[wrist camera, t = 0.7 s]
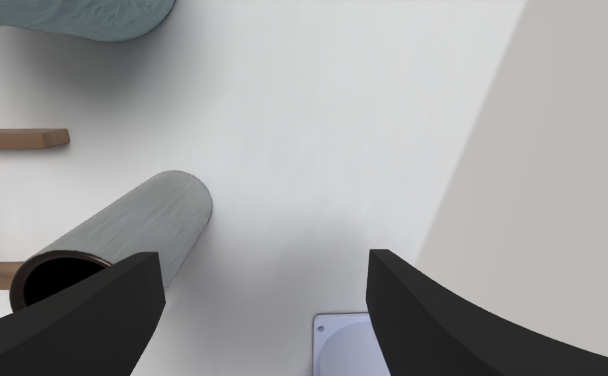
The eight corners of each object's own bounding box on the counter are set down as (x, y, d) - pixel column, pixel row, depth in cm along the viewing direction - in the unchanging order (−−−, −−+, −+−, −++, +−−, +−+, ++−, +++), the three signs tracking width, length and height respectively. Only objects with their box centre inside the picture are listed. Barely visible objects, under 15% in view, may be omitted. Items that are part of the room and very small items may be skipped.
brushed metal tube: (138, 168, 20) (-9, 248, 10) (211, 171, 20) (136, 252, 10) (146, 233, 21) (22, 359, 11) (214, 235, 21) (150, 360, 12)
